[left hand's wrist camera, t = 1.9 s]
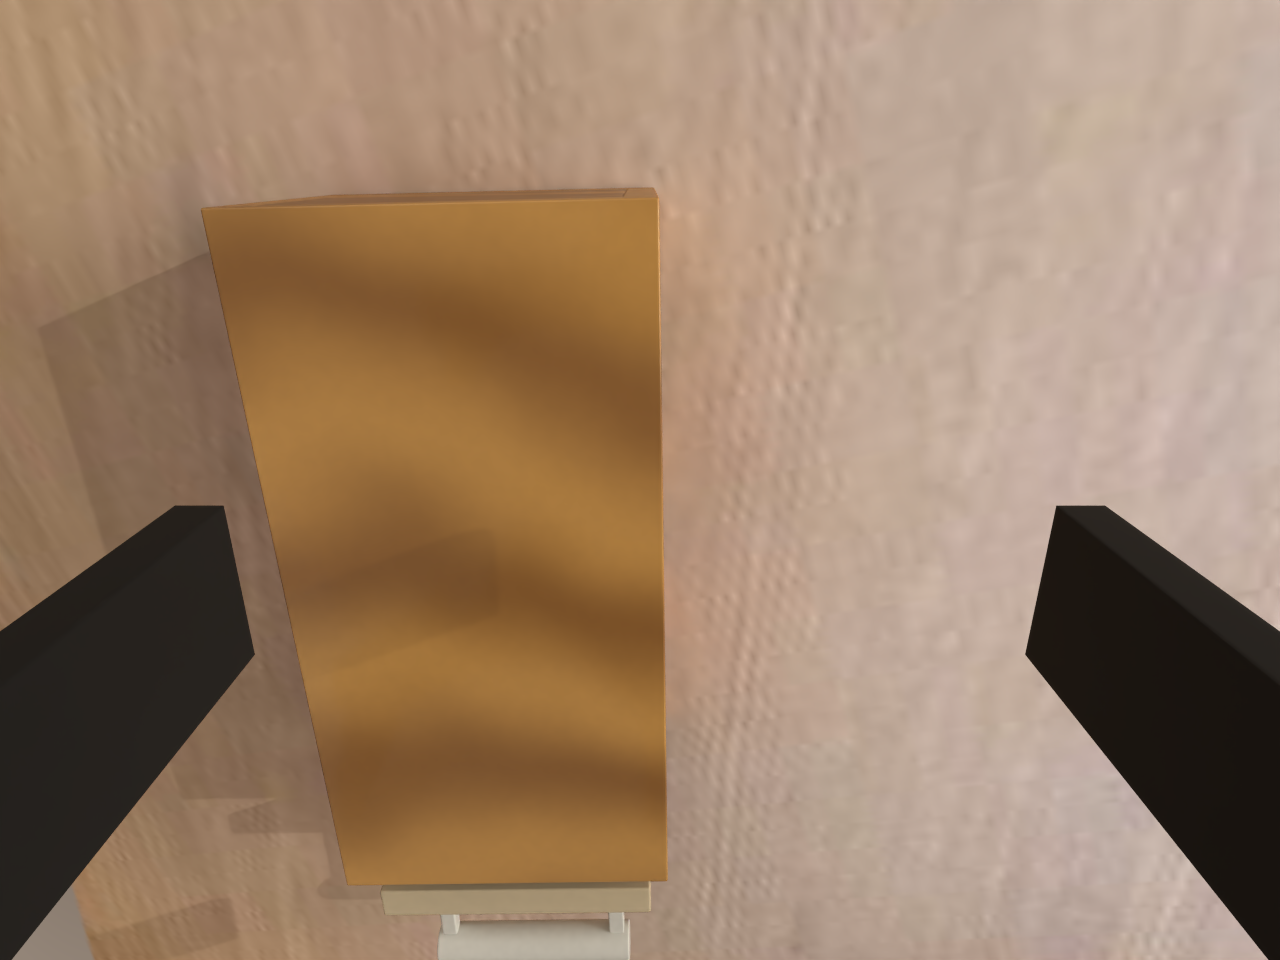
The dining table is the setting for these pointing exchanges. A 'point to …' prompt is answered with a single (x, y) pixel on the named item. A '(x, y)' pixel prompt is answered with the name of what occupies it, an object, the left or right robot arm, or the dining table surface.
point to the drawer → (525, 949)
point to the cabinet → (466, 518)
